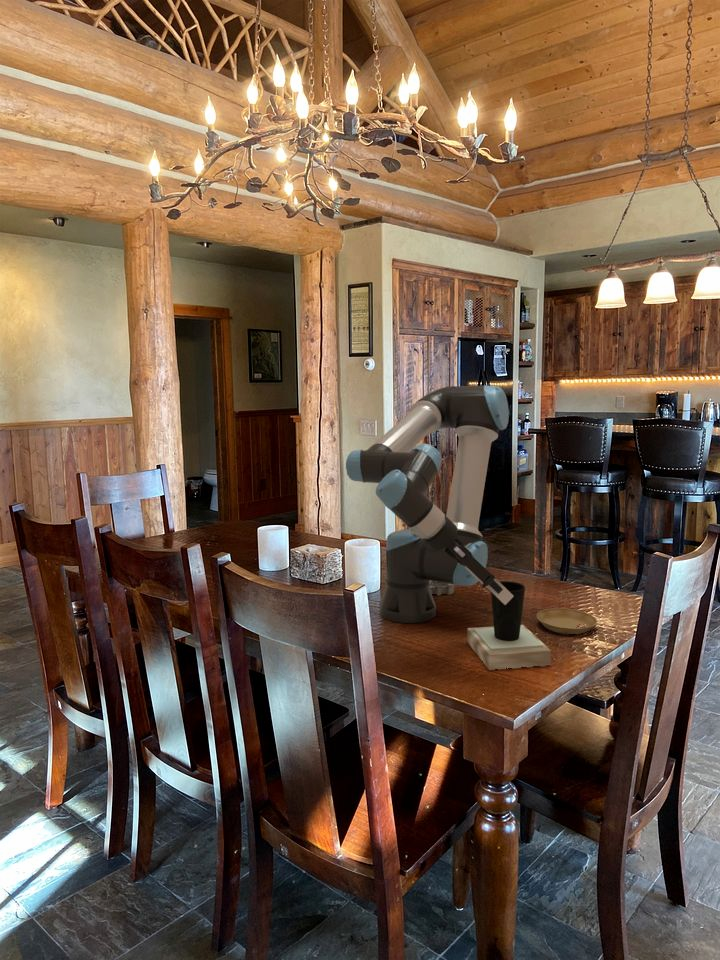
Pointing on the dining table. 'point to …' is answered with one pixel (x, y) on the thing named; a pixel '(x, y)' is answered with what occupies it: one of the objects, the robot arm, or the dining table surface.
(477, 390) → the robot arm
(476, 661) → the dining table surface
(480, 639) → the stand
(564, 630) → the plant saucer
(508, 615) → the cup
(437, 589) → the egg carton
